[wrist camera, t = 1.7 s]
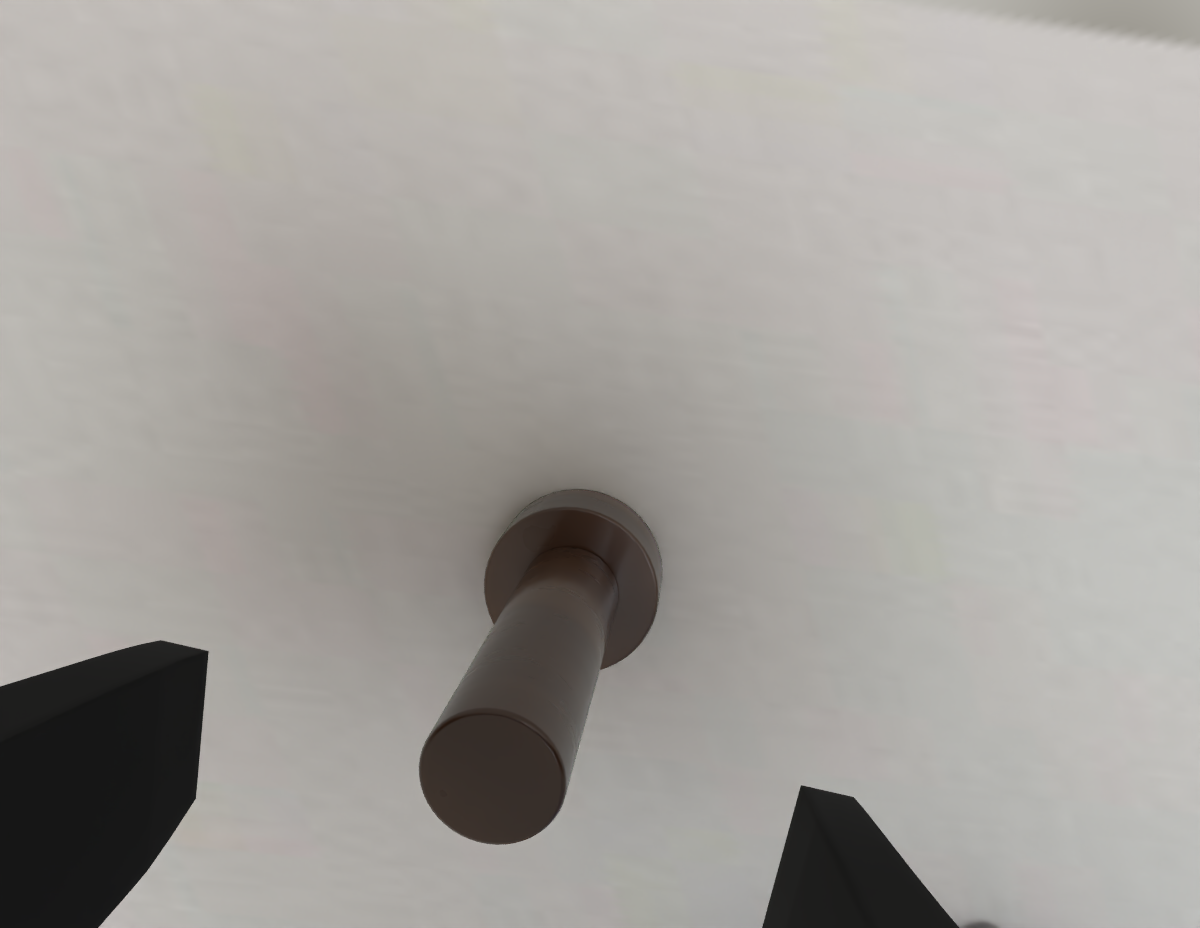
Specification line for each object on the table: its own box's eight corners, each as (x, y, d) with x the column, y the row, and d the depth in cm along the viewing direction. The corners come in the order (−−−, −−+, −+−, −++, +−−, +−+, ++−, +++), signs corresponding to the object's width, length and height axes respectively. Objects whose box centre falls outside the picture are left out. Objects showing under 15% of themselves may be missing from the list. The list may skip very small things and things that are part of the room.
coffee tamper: (571, 674, 21) (481, 944, 13) (466, 555, 21) (305, 753, 13) (696, 582, 20) (683, 807, 12) (589, 455, 20) (501, 598, 12)
